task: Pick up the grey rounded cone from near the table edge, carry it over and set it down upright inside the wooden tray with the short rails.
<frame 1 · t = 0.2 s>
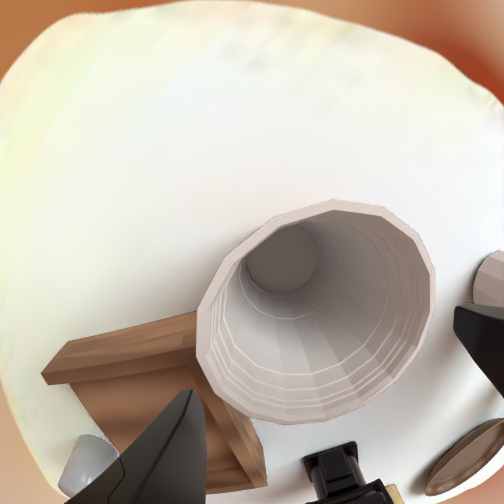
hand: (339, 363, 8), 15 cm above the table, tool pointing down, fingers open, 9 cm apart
wooden tray: (168, 405, 26), on the table
grey rounded cone: (97, 448, 27), on the table
tan upright block: (379, 494, 34), on the table
plastic cup: (284, 259, 23), on the table
water bottle: (489, 285, 25), on the table
plant saucer: (465, 450, 34), on the table
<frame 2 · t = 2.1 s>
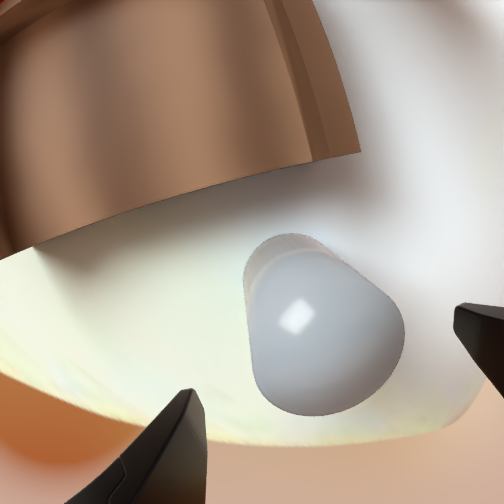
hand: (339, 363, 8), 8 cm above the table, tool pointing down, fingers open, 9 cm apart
wooden tray: (126, 84, 14), on the table
grey rounded cone: (290, 279, 17), on the table
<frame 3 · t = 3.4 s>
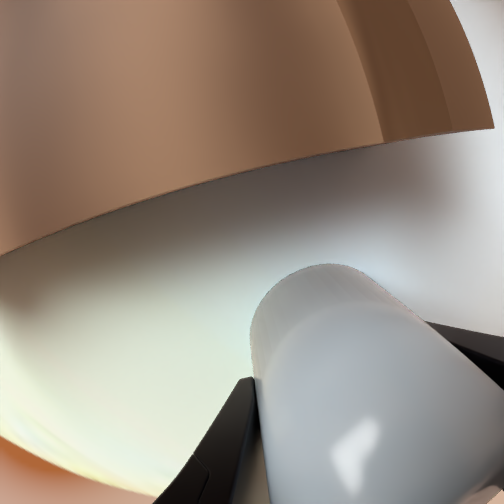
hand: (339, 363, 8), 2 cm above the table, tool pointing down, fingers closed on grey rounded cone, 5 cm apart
wooden tray: (74, 36, 7), on the table
grey rounded cone: (321, 333, 10), on the table, touching gripper
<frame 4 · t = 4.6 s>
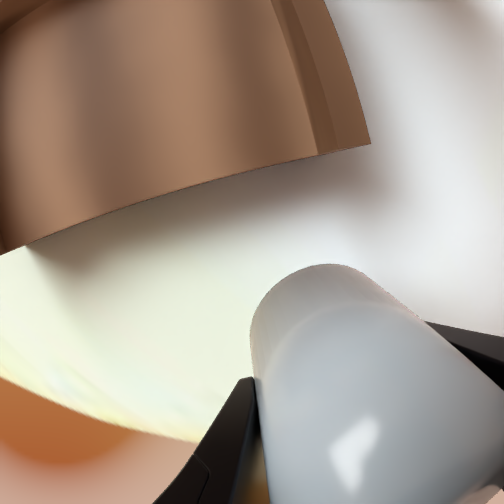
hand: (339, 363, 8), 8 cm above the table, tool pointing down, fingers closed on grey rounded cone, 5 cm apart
wooden tray: (122, 75, 13), on the table
grey rounded cone: (321, 332, 10), point 6 cm above the table, touching gripper
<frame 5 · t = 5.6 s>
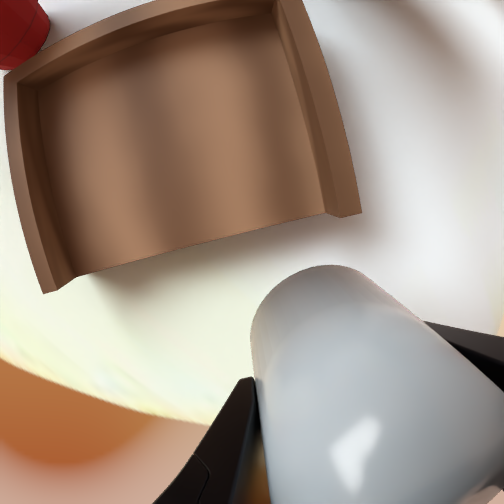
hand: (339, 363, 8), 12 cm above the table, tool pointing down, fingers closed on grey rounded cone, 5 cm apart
wooden tray: (170, 133, 18), on the table
grey rounded cone: (322, 333, 10), point 10 cm above the table, touching gripper
plastic cup: (27, 39, 15), on the table
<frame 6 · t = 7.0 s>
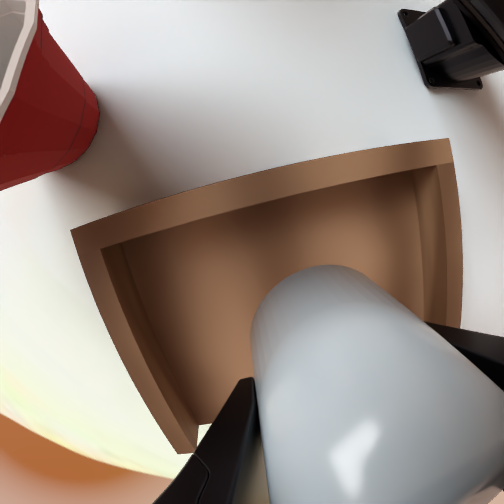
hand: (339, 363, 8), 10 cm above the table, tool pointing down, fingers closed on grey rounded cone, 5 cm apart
wooden tray: (287, 285, 18), on the table
grey rounded cone: (322, 333, 10), point 8 cm above the table, touching gripper
plastic cup: (66, 121, 15), on the table
when the fingers open (6 cm above the table, at t = 8.0 s): grey rounded cone drops 1 cm, resting on wooden tray.
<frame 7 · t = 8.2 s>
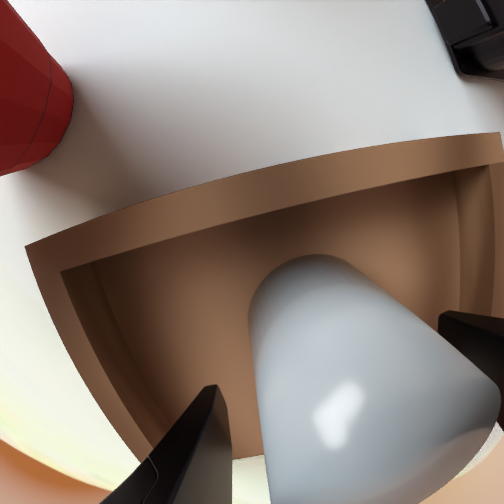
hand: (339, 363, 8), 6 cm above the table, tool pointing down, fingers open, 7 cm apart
wooden tray: (300, 308, 15), on the table
grey rounded cone: (312, 316, 12), point 3 cm above the table, touching wooden tray
plastic cup: (37, 111, 12), on the table
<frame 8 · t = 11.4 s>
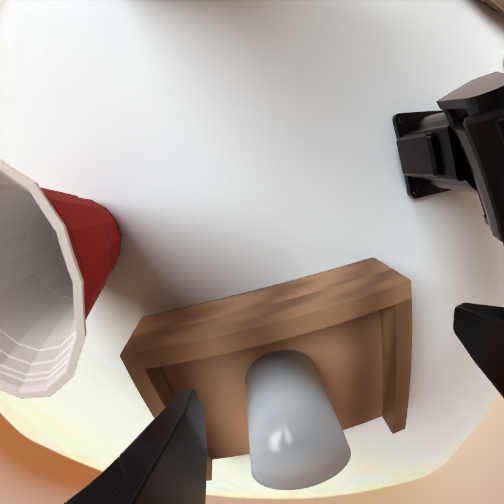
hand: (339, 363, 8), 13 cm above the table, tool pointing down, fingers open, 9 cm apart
wooden tray: (278, 366, 23), on the table
grey rounded cone: (281, 379, 20), point 3 cm above the table, touching wooden tray
plastic cup: (90, 236, 20), on the table
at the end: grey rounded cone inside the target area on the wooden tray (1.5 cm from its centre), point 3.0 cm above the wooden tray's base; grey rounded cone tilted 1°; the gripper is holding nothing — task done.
